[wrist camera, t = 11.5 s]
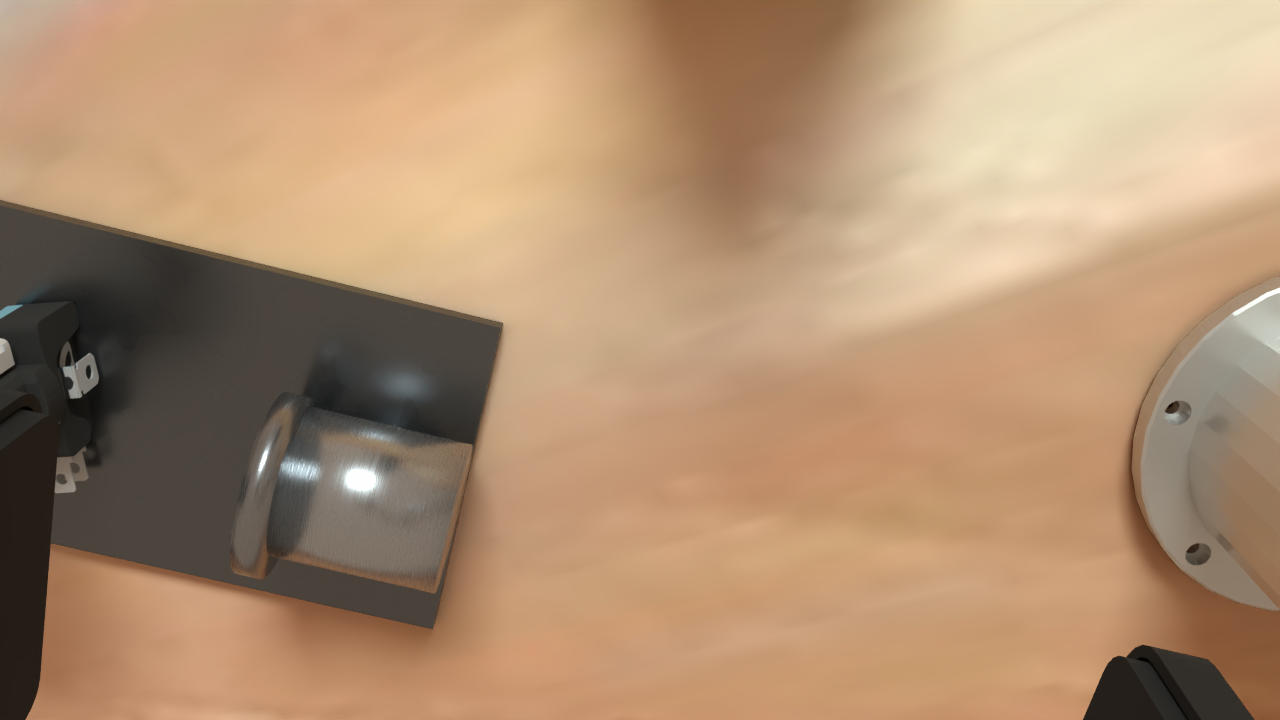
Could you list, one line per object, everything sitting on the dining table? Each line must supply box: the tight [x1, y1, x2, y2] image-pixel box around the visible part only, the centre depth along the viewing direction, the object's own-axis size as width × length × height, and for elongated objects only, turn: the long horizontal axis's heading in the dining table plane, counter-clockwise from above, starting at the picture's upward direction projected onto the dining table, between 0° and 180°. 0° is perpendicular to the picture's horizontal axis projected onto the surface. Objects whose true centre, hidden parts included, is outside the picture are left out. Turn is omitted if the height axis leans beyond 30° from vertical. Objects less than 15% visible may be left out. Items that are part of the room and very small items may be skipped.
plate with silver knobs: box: [0, 200, 503, 629], centre depth 39 cm, size 28×12×6 cm, turn 76°
